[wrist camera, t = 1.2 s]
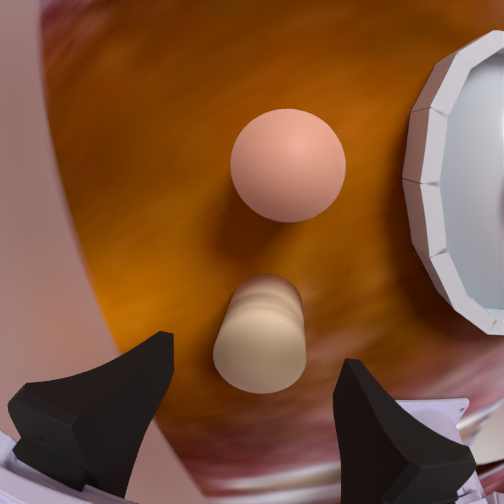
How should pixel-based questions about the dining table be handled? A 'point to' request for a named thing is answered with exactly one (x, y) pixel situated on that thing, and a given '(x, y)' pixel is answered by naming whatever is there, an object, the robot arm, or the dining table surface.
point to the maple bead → (262, 336)
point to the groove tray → (461, 180)
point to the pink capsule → (288, 165)
